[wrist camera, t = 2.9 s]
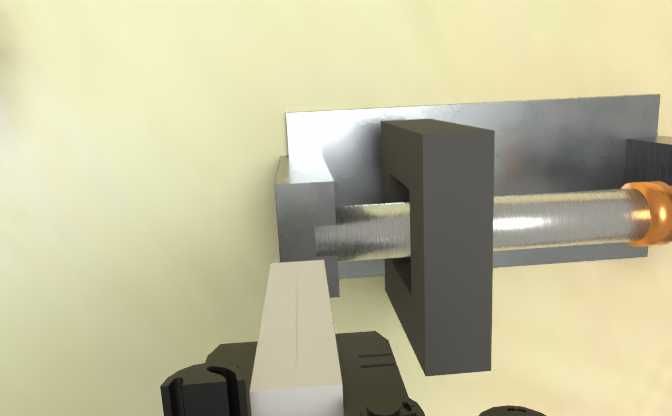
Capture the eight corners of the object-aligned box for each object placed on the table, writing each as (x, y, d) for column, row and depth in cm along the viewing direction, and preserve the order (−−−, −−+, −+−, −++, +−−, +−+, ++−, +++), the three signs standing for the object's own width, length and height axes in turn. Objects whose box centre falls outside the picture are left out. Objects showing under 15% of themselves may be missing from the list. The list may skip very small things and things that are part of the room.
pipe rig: (289, 277, 33) (286, 360, 23) (277, 113, 31) (269, 122, 21) (646, 252, 34) (795, 319, 24) (659, 93, 32) (827, 93, 22)
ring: (385, 290, 29) (425, 376, 20) (380, 121, 27) (422, 134, 18) (431, 286, 29) (490, 370, 20) (429, 118, 27) (494, 130, 18)
